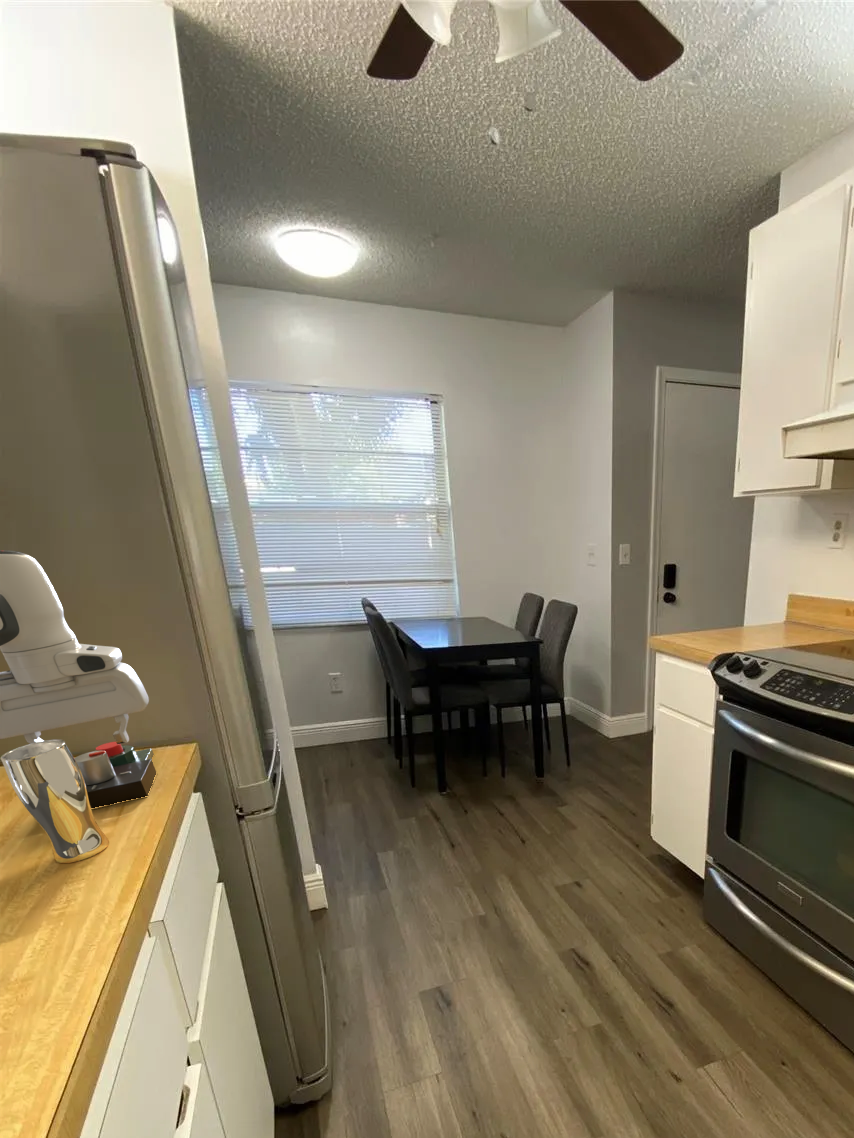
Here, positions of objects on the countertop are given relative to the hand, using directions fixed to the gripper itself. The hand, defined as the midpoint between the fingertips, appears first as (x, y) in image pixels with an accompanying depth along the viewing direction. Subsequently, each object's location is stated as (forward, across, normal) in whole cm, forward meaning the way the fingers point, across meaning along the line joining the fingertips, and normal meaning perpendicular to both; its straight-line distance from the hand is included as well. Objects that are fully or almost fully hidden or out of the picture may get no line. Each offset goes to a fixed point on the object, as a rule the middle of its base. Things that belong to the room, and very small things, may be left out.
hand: (89, 749), depth 99 cm
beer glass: (+8, +1, -20) cm, 22 cm away
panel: (+8, 0, 0) cm, 8 cm away
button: (+5, 0, +10) cm, 11 cm away
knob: (+5, 0, 0) cm, 5 cm away
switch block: (+8, 0, +10) cm, 13 cm away
